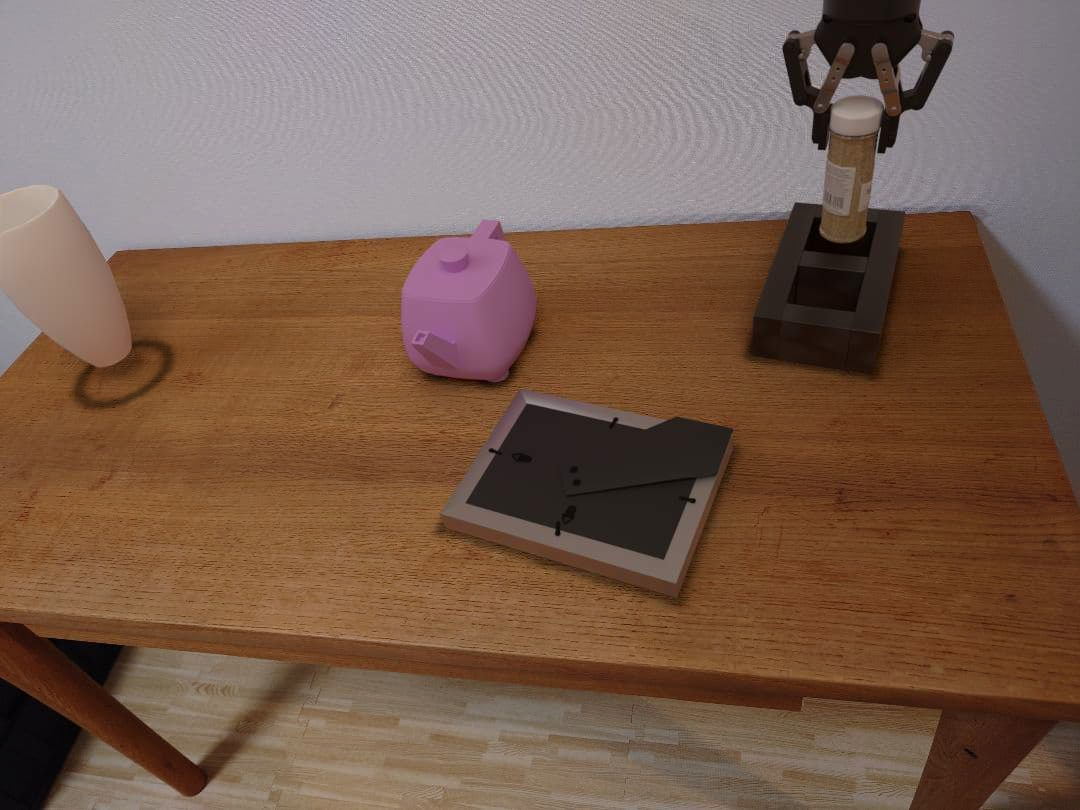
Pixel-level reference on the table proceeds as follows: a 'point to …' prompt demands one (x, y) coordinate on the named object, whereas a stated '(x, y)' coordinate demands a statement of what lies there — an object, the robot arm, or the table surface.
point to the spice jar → (850, 167)
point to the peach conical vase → (60, 275)
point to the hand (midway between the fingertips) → (852, 147)
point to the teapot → (468, 306)
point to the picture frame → (594, 488)
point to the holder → (828, 292)
